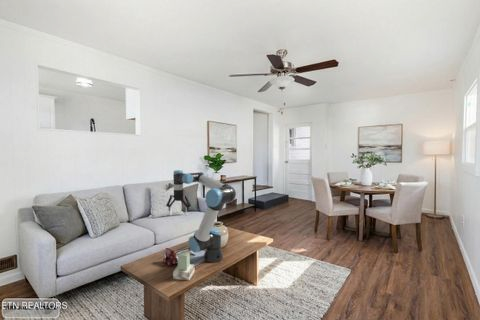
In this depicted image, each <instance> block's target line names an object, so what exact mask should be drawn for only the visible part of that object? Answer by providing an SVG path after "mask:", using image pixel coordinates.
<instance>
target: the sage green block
mask: <svg viewBox="0 0 480 320" xmlns="http://www.w3.org/2000/svg"><path fill="white" fill-rule="evenodd" d="M190 253H191V252H190V251H185V250H183V251H182V250H181V251H180V252H179V253H178V255H177V260H178V262H177V266H178V270H187V269H188V268H189V266H190V264H191V261H190V260H191V259H190V258H191V256H190Z"/></svg>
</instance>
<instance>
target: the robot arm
mask: <svg viewBox="0 0 480 320" xmlns="http://www.w3.org/2000/svg"><path fill="white" fill-rule="evenodd" d="M172 176H173V194H171V195H169V199H168V201H167V203H166V205H165V206H166V207H168V212H169V216H172V215H173V207H172V205H173V204H174V203H175V201H176V202H181V203H182V204H184V206H185V217H188V214H189V213H188V212H189V211H190V207H192V204H191V202H190V201H189V198H188V195H187V194H185V195H184V184H186V185H188V184H189V185H190V184H192V183H199V184H201V185H203V186H205V187H206V188H208V190H207V192H206V194H205V196H204V197H205V198H204V199H205V204H206V209H205V211H204V214H203V216H202V219H201V222H200V225H199V226H198V229H197V230H195V232H194V234H193V235H192V236H190V237H189V238H188V241H187V242H188V246H189V248H190V251H192V253H195V254H196V253H201V252H202V251H203V250H204V253H203V260H204V261H205V262H207V263H217V262H220V261H222V260H224V253H223V250H222V248H221V247H222V244H221V243H222V242H221V241H222V234H221V233H222V232H221V229H220V228H215V227H213V226H214V224H215V222H216V219H217V217H218V214H219V212H220V211H222V210H223V209H224V206H225V204H229V203H232V202H234V200H235V198H236V195H237V192H236V190H235V188H234V187H233V186H232V185H230V184H228V183H223V182H220V181H219V180H216V179H214V178H212V177H210V176H208V175H207V174H206V173H205V172H203V171H200V172H199V171H198V172H189V173H188V172H187V173H184V171H183V170H179V169H178V170H174V171H173V175H172ZM172 199H173V200H172Z"/></svg>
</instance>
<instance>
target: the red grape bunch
mask: <svg viewBox="0 0 480 320" xmlns="http://www.w3.org/2000/svg"><path fill="white" fill-rule="evenodd" d="M164 250H165V251H164V252H165V257H164V258H163V259H162V260H163V263H164V264H167V266H168V267H171V266H172V264H173V265H176V264H177V263H178V262H177V261H178V257H177V255H176V253H175V250H173V249H171V248H169V247H166V248H165V249H164ZM176 262H177V263H176Z"/></svg>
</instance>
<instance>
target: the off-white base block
mask: <svg viewBox="0 0 480 320" xmlns="http://www.w3.org/2000/svg"><path fill="white" fill-rule="evenodd" d="M195 266H196V265H195V264H191V263H190V266H189V268H188V269H187V270H178V265H177V266H176V267H175V268H174V270H173V271H172V279H173V280H183V281H184V280H185V281H190V280H191V278H192V277H193V275H194V273H195Z"/></svg>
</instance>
